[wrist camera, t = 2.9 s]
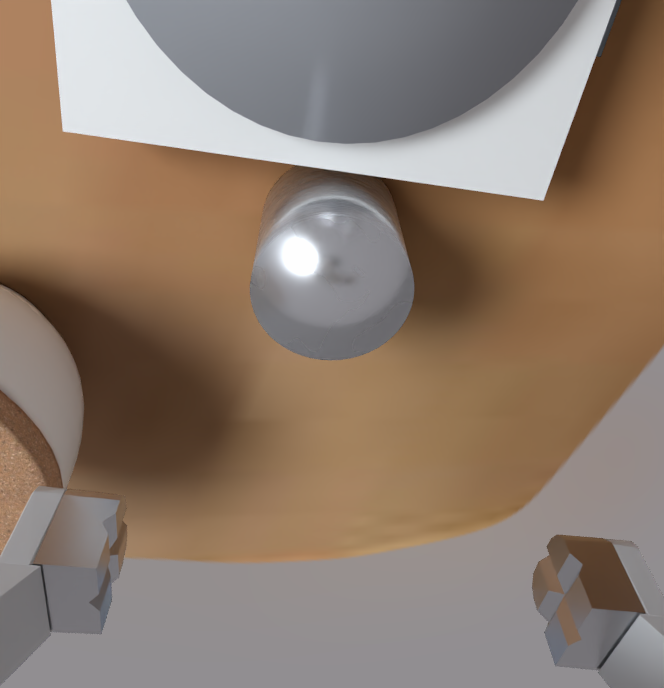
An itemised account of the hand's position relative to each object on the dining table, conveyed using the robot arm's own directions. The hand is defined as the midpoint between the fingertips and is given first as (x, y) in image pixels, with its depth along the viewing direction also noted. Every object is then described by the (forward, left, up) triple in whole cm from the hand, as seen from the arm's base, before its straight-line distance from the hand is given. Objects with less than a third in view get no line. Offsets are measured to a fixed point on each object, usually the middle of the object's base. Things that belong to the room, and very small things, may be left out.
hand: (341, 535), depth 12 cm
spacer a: (0, 0, -13) cm, 13 cm away
